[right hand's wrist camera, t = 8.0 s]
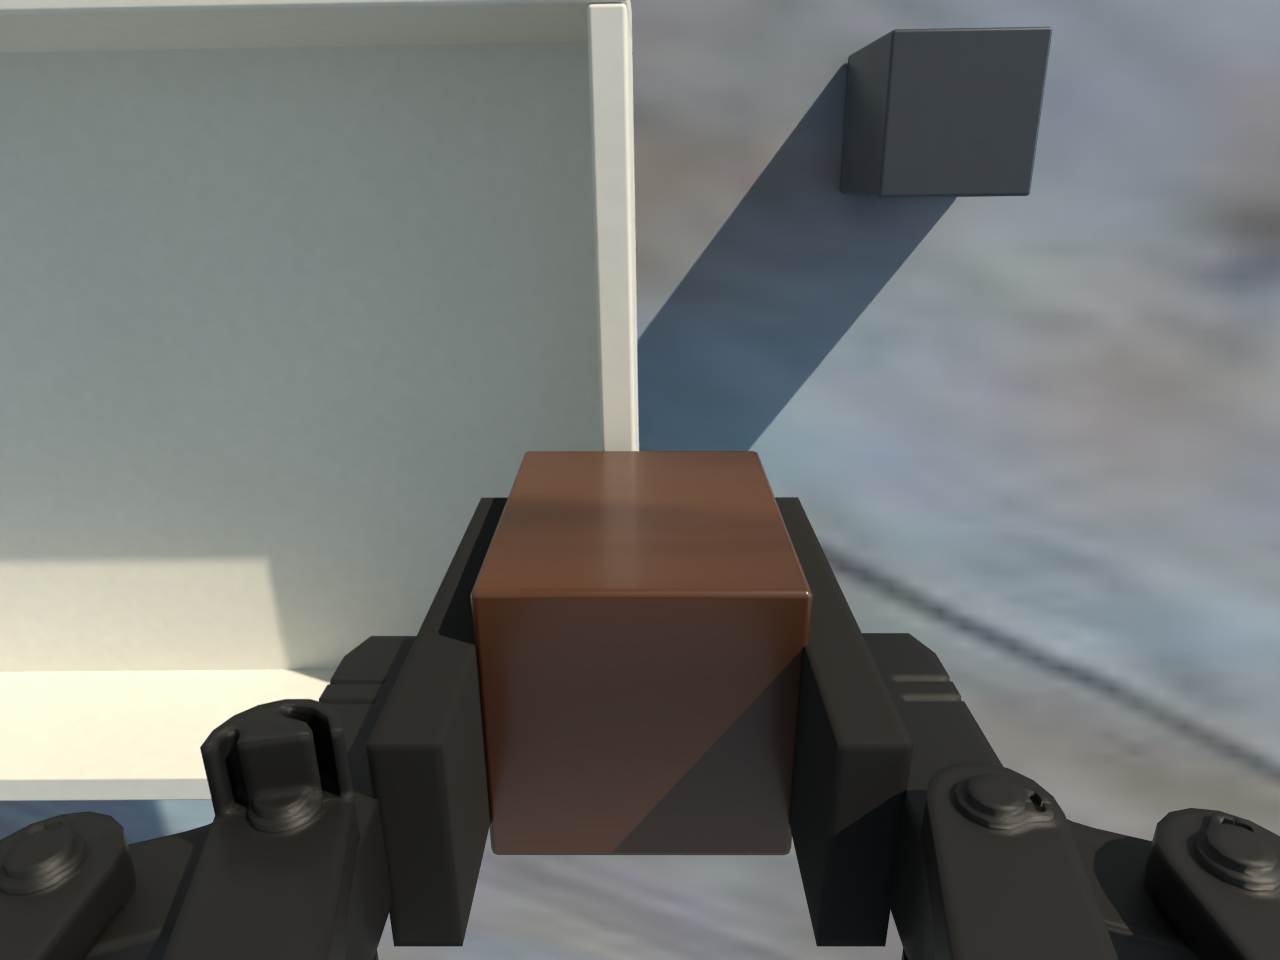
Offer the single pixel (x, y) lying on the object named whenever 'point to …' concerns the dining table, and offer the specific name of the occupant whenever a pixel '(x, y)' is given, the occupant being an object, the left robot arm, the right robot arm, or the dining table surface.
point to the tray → (281, 341)
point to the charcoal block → (944, 112)
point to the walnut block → (640, 657)
